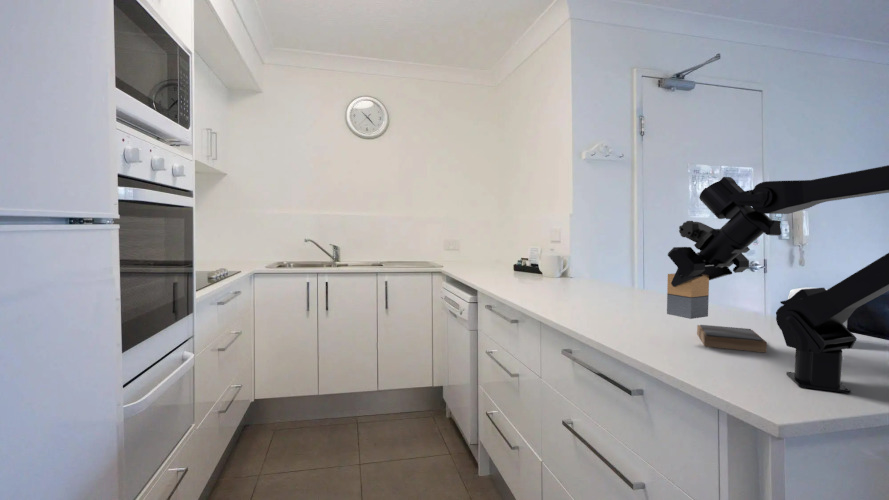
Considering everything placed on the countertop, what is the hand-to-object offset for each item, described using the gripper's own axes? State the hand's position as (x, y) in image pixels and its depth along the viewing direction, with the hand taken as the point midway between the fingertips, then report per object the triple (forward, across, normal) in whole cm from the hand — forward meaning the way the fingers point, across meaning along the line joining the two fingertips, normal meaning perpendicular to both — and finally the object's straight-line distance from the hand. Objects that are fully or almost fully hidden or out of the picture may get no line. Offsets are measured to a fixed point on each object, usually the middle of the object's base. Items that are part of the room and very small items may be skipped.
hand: (681, 284), depth 91 cm
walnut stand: (+7, -11, +12) cm, 18 cm away
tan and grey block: (+4, 0, +6) cm, 7 cm away
